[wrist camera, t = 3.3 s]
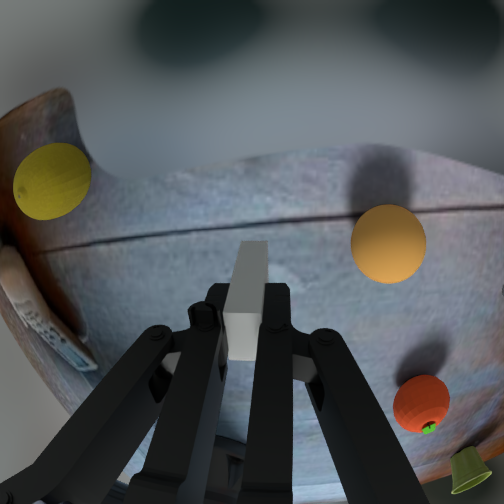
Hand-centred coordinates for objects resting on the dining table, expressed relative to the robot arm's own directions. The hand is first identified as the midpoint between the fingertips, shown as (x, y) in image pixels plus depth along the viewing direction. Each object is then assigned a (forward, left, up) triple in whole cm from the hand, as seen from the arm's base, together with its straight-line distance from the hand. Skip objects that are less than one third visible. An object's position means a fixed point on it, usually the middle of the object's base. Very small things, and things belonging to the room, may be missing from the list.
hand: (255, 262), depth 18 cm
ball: (+9, 0, -3) cm, 10 cm away
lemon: (-15, +6, -6) cm, 17 cm away
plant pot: (+42, -50, -6) cm, 66 cm away
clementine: (+18, -20, -6) cm, 28 cm away
